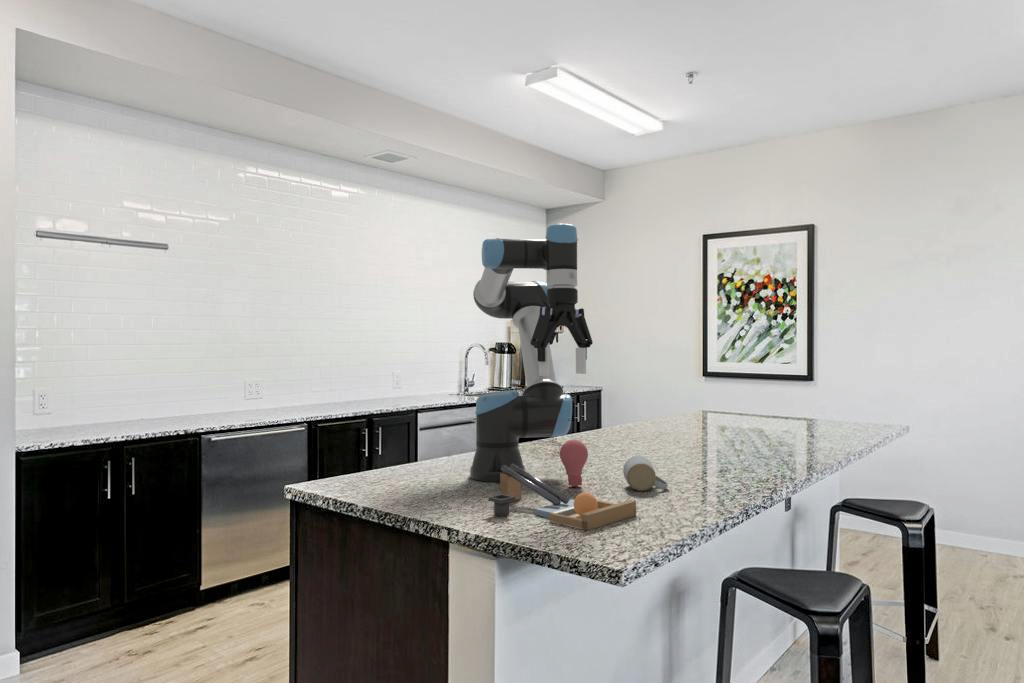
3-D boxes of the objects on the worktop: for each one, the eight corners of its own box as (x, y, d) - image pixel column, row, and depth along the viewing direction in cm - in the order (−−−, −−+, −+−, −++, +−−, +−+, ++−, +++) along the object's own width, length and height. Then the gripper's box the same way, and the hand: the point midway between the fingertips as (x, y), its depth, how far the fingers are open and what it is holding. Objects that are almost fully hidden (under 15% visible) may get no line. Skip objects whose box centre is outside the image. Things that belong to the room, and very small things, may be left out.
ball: (566, 498, 140) (584, 509, 136) (582, 483, 142) (600, 493, 139) (571, 515, 142) (588, 525, 139) (586, 500, 145) (604, 510, 141)
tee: (488, 514, 144) (488, 497, 144) (502, 511, 146) (501, 494, 146) (501, 518, 141) (501, 500, 141) (515, 514, 144) (514, 496, 144)
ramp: (500, 500, 157) (499, 465, 157) (513, 497, 160) (513, 462, 160) (556, 513, 144) (556, 474, 144) (570, 509, 147) (569, 472, 147)
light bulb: (555, 488, 170) (555, 440, 170) (566, 483, 176) (566, 437, 176) (582, 491, 166) (581, 442, 166) (592, 485, 172) (591, 438, 173)
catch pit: (549, 521, 138) (549, 506, 138) (598, 507, 149) (598, 494, 149) (587, 530, 131) (587, 515, 131) (636, 515, 142) (636, 501, 142)
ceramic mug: (626, 492, 164) (626, 460, 164) (623, 485, 173) (623, 455, 173) (670, 493, 164) (670, 461, 164) (664, 486, 172) (665, 456, 172)
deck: (535, 514, 144) (534, 508, 144) (571, 504, 152) (571, 499, 152) (556, 519, 139) (556, 513, 139) (592, 509, 148) (592, 503, 148)
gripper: (538, 284, 154) (539, 377, 154) (605, 289, 172) (606, 373, 172) (515, 286, 160) (516, 376, 159) (582, 291, 177) (583, 372, 177)
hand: (563, 374), depth 165 cm, fingers open, 13 cm apart
